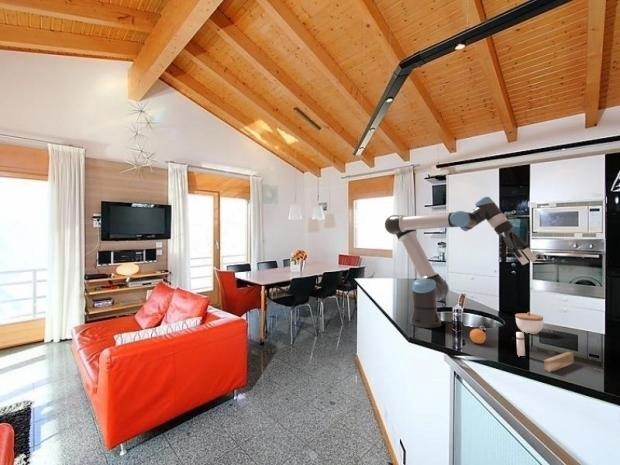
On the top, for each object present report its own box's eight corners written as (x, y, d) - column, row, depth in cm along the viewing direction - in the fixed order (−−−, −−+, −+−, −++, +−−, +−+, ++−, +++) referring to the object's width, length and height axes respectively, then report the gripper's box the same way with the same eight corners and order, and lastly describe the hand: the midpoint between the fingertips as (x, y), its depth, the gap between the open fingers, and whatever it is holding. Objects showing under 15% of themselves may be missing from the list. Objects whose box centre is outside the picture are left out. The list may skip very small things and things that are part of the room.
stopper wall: (544, 371, 99) (543, 360, 99) (568, 361, 107) (567, 351, 107) (549, 372, 98) (549, 361, 98) (573, 363, 105) (573, 352, 105)
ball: (473, 345, 126) (472, 330, 126) (468, 340, 132) (467, 326, 132) (488, 345, 125) (487, 331, 125) (482, 341, 130) (482, 327, 131)
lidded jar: (545, 336, 135) (544, 315, 135) (516, 333, 141) (515, 313, 141) (542, 330, 144) (541, 311, 144) (515, 328, 150) (514, 309, 150)
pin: (519, 356, 112) (518, 333, 112) (515, 354, 114) (514, 331, 115) (526, 357, 111) (525, 333, 112) (523, 354, 114) (521, 332, 114)
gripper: (498, 220, 137) (530, 260, 128) (516, 219, 153) (545, 255, 144) (484, 229, 142) (513, 269, 133) (502, 228, 158) (530, 263, 149)
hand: (530, 262), depth 139 cm, fingers open, 13 cm apart
